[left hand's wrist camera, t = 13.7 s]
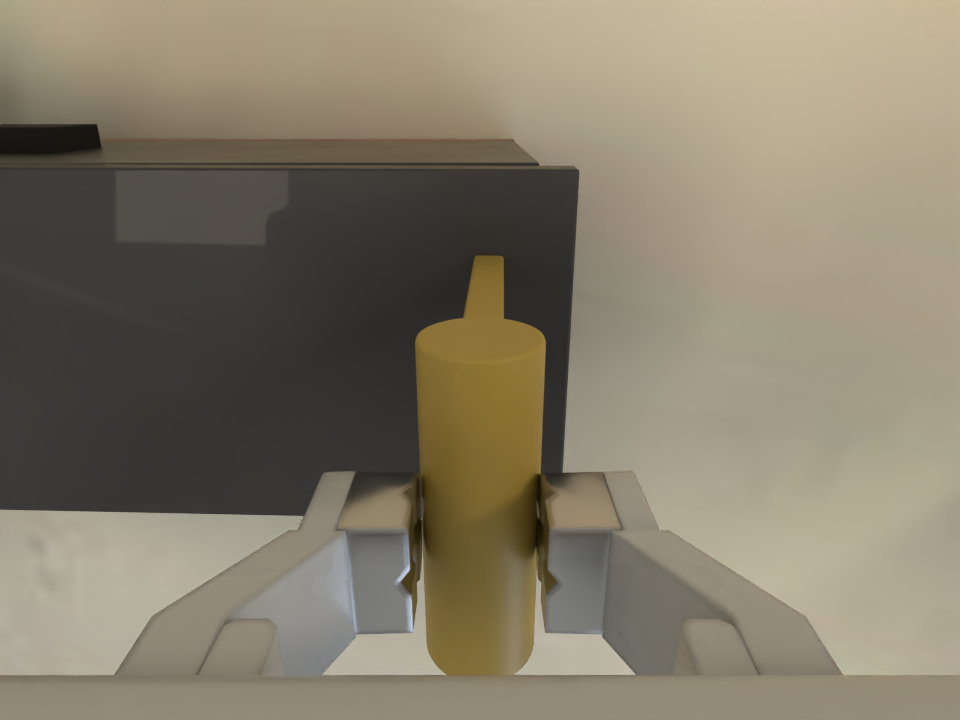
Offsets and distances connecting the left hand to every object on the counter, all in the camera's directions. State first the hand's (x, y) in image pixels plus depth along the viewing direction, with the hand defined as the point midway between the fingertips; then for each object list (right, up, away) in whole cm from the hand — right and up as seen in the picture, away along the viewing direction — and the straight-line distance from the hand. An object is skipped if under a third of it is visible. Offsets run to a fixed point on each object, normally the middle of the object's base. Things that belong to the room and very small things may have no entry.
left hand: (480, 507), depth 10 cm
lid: (-7, +3, +7) cm, 10 cm away
